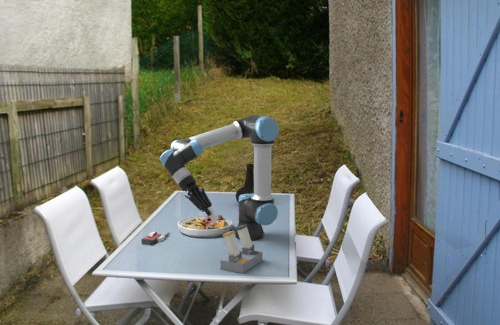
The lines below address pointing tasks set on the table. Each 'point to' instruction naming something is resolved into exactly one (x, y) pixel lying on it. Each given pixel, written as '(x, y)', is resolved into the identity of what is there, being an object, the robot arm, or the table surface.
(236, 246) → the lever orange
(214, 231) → the bowl
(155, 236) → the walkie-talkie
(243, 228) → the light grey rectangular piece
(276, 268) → the table surface
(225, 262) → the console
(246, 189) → the glass bottle
